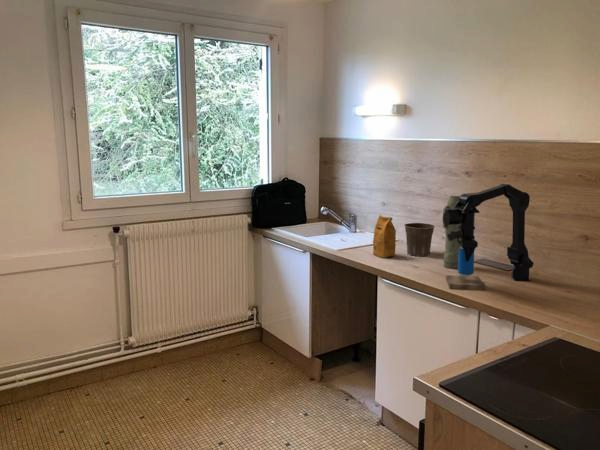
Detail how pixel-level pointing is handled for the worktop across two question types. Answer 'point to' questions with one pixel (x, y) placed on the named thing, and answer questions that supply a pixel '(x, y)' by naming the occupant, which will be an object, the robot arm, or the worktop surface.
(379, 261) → the worktop surface
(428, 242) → the plant pot
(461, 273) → the beverage can
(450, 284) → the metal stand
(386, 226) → the coffee package
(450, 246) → the thermos
